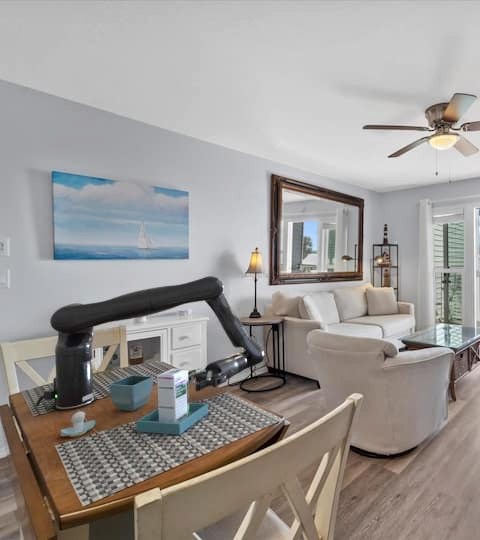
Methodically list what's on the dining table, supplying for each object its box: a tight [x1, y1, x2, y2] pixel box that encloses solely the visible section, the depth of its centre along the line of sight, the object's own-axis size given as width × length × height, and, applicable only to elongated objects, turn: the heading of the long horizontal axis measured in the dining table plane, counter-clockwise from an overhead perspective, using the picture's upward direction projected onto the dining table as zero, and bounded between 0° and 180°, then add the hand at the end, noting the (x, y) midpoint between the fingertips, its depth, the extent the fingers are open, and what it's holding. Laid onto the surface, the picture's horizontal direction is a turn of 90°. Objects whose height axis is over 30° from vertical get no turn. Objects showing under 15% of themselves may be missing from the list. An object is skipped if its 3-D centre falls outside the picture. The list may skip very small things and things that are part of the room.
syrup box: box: [156, 368, 190, 423], centre depth 97 cm, size 6×6×14 cm
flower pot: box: [108, 374, 154, 412], centre depth 107 cm, size 9×9×9 cm
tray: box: [135, 402, 209, 436], centre depth 98 cm, size 13×13×3 cm
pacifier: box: [60, 410, 96, 438], centre depth 91 cm, size 7×6×6 cm
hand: (185, 386), depth 101 cm, fingers open, 8 cm apart
